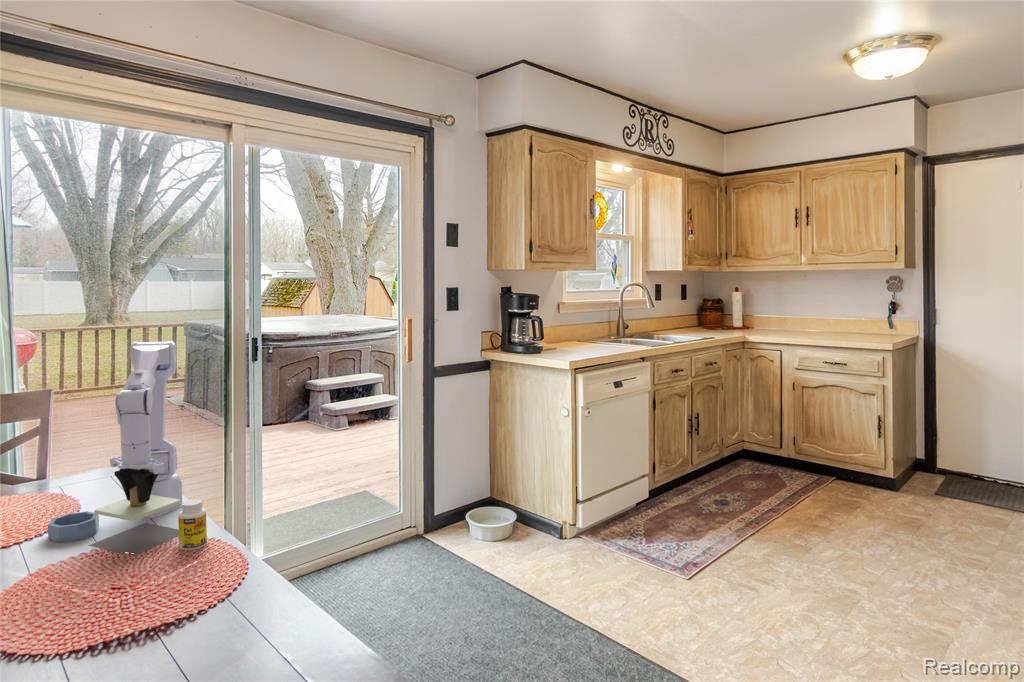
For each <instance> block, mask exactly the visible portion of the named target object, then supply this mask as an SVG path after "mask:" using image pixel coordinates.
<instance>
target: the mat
mask: <svg viewBox="0 0 1024 682" xmlns="http://www.w3.org/2000/svg"><path fill="white" fill-rule="evenodd" d="M176 538H179V528H173V527H170V526H169V527H168V526H163V525H160V524H159V525H158V524H154V523H149V522H144V523H141V524H138V525H137V526H134V527H132V528H129V529H126V530H124V531H121V532H118V533H117V534H113V535H110V536H109V537H106V538H104V539H101V540H98V541H95V542H93V543H91V544H88V546H89V547H94V548H98V549H102V550H107V551H111V552H114V553H115V552H116V553H119V554H123V553H125V552H129V554H130V555H129V556H132V555H133V557H135V556H137V555H139V554H141V553H144V552H146V551H148V550H150V549H153V548H155V547H157V546H159V545H163V544H164V543H166V542H168V541H169V542H170V541H171V540H173V539H176ZM131 553H134V554H131Z"/></svg>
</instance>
